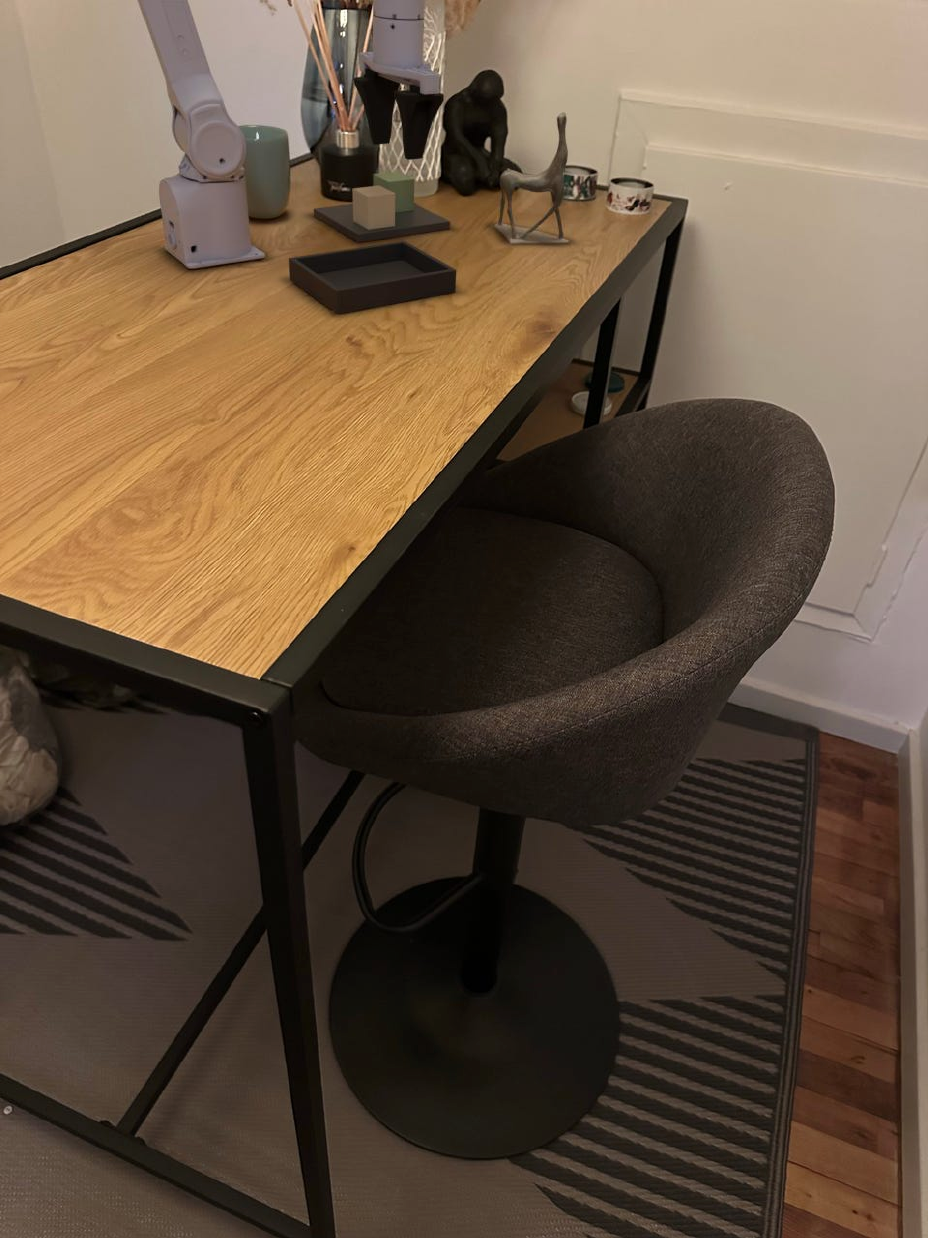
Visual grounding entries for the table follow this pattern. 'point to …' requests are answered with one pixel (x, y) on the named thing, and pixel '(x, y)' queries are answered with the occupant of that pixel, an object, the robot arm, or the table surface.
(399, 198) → the sage block
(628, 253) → the table surface
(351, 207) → the board
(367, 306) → the tray
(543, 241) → the figurine
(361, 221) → the cream block
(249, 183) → the cup
